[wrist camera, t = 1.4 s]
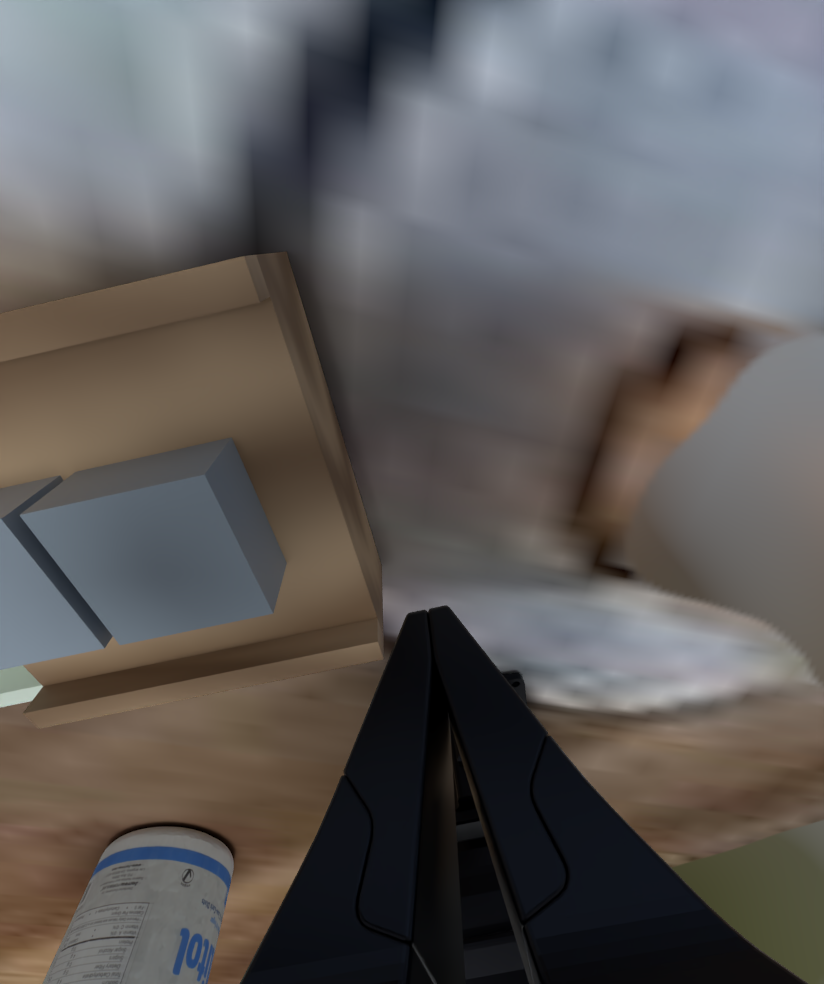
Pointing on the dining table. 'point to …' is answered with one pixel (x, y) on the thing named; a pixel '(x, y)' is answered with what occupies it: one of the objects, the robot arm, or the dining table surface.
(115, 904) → the supplement tub
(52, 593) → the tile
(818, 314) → the dining table surface
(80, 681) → the brown square tray
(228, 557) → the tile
